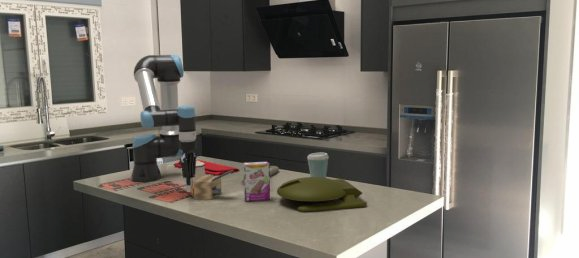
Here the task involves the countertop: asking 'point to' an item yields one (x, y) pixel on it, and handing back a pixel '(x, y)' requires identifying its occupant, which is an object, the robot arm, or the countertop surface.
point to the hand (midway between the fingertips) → (190, 191)
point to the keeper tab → (222, 175)
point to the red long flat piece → (213, 168)
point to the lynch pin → (214, 191)
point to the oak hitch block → (206, 187)
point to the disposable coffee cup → (318, 164)
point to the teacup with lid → (199, 170)
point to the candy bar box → (256, 181)
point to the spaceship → (321, 193)
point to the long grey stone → (272, 171)
